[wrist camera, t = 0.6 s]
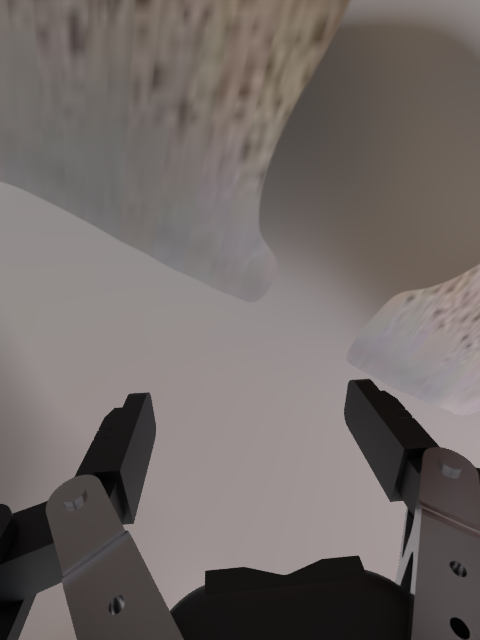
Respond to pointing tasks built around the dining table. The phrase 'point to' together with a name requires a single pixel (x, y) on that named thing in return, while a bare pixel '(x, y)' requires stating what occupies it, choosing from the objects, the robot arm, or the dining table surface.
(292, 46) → the dining table surface
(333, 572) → the robot arm
